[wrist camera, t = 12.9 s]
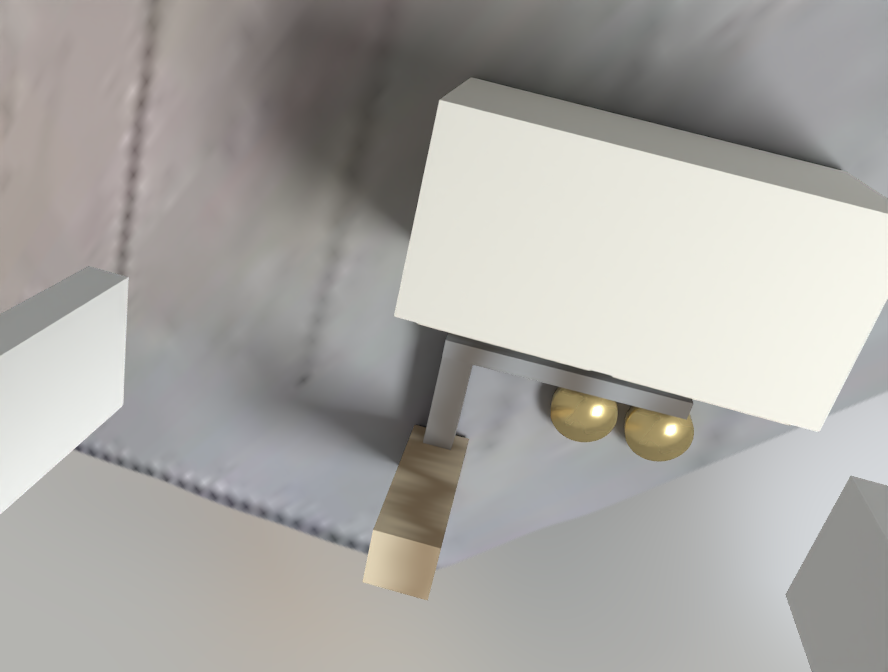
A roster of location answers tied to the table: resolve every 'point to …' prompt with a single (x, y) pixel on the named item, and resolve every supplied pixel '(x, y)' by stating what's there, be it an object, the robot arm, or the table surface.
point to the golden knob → (582, 415)
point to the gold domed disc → (657, 434)
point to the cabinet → (645, 252)
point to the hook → (442, 453)
